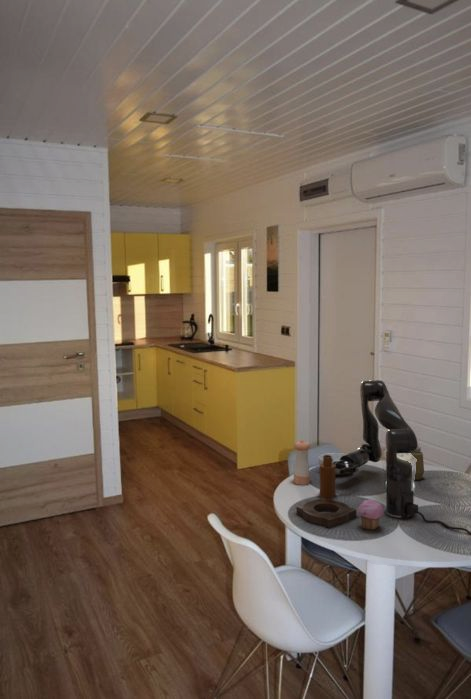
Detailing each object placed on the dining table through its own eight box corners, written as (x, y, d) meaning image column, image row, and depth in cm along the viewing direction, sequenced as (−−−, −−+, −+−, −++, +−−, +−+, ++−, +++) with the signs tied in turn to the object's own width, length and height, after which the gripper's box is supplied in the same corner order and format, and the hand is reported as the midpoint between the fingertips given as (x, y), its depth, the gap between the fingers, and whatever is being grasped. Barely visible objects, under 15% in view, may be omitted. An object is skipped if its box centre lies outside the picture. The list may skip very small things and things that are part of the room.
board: (360, 516, 218) (360, 509, 218) (327, 529, 207) (327, 521, 207) (324, 503, 233) (324, 496, 232) (292, 514, 221) (292, 507, 221)
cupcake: (364, 520, 214) (364, 495, 213) (386, 526, 210) (386, 499, 208) (354, 529, 207) (354, 502, 206) (377, 534, 202) (378, 507, 201)
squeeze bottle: (402, 476, 263) (402, 437, 261) (417, 474, 266) (417, 436, 264) (412, 481, 256) (413, 442, 254) (428, 479, 258) (428, 440, 256)
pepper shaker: (305, 478, 263) (305, 437, 261) (313, 483, 256) (312, 441, 254) (291, 480, 260) (290, 439, 258) (298, 485, 253) (298, 443, 251)
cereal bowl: (347, 480, 259) (347, 464, 259) (313, 474, 268) (312, 459, 267) (359, 469, 274) (359, 455, 273) (327, 464, 282) (327, 450, 282)
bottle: (338, 495, 240) (338, 456, 238) (327, 499, 236) (327, 459, 234) (326, 491, 245) (326, 453, 243) (316, 495, 241) (316, 456, 239)
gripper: (338, 450, 259) (317, 458, 247) (366, 455, 249) (346, 465, 237) (337, 466, 260) (317, 475, 247) (366, 472, 250) (346, 482, 238)
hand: (332, 470), depth 242 cm, fingers open, 8 cm apart
